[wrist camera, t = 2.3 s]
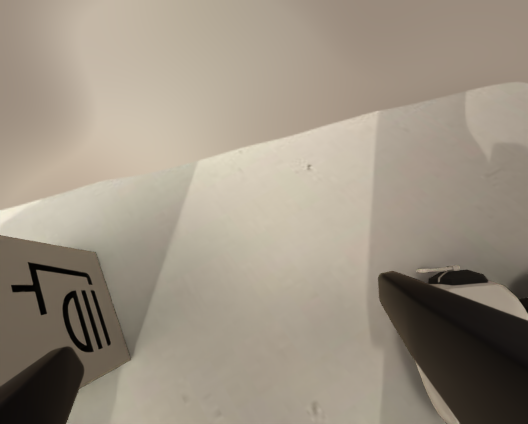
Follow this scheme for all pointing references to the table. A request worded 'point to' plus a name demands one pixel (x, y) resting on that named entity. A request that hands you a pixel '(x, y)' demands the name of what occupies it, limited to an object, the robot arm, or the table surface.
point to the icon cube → (55, 309)
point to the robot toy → (476, 290)
